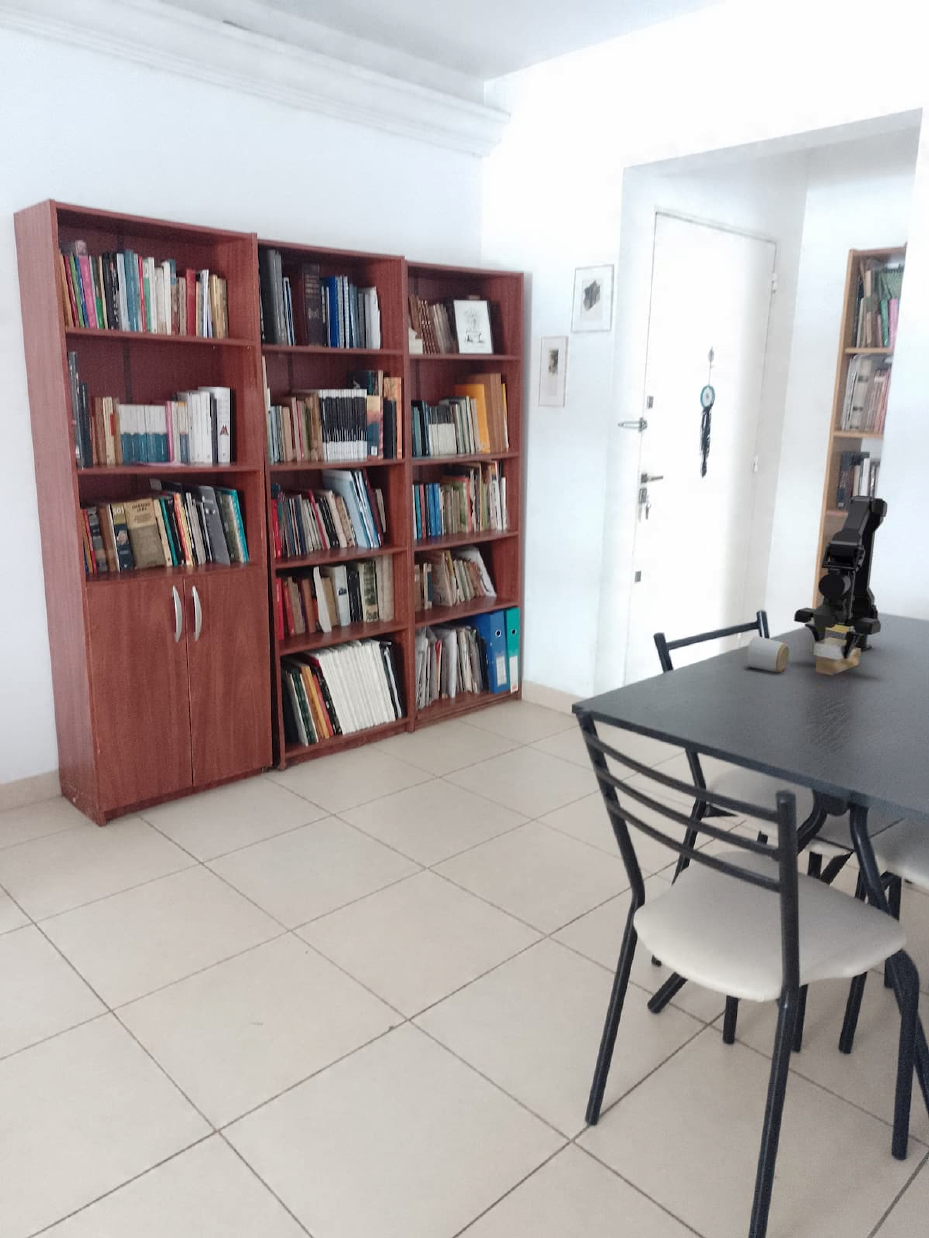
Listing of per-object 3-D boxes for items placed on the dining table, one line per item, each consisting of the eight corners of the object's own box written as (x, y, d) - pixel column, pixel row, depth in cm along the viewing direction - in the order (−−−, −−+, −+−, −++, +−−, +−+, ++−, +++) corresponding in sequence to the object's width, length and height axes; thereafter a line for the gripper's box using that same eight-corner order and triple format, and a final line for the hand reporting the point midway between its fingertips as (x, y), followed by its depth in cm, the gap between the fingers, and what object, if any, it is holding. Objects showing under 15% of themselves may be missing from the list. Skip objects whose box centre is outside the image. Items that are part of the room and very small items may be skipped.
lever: (860, 635, 224) (861, 625, 224) (853, 636, 223) (854, 626, 222) (813, 624, 235) (814, 615, 234) (806, 625, 233) (807, 616, 233)
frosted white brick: (828, 649, 224) (829, 637, 223) (852, 654, 220) (853, 641, 219) (813, 654, 218) (814, 642, 218) (837, 659, 214) (839, 647, 214)
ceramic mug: (778, 675, 214) (781, 644, 213) (744, 669, 219) (747, 638, 218) (793, 667, 223) (796, 636, 221) (760, 661, 228) (763, 631, 226)
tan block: (843, 660, 229) (846, 632, 227) (859, 664, 226) (862, 635, 224) (815, 671, 219) (818, 642, 217) (831, 675, 216) (835, 645, 214)
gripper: (786, 590, 217) (780, 653, 220) (865, 602, 204) (857, 670, 207) (808, 584, 224) (801, 646, 228) (885, 596, 211) (877, 661, 215)
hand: (832, 655), depth 219 cm, fingers closed on frosted white brick, 6 cm apart
